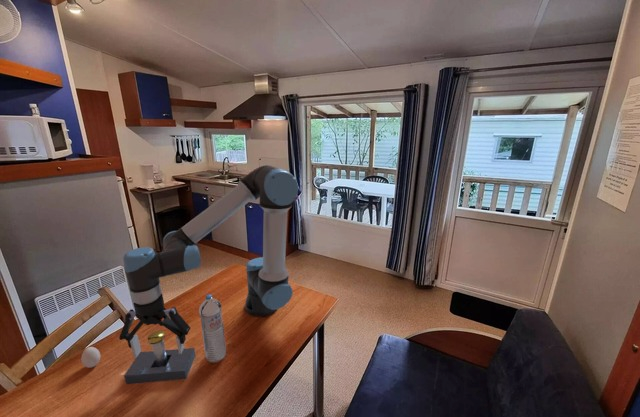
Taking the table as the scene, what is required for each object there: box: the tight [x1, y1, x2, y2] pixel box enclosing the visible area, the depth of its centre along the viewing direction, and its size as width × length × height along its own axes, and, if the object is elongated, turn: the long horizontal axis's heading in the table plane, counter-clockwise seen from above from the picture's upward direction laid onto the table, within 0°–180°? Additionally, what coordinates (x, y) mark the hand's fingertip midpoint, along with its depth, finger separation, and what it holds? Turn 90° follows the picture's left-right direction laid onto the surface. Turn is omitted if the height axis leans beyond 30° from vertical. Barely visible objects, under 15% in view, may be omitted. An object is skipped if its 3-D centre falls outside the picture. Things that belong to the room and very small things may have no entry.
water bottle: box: [198, 294, 227, 364], centre depth 89 cm, size 7×7×25 cm
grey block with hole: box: [123, 347, 197, 385], centre depth 86 cm, size 18×9×4 cm, turn 97°
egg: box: [80, 346, 101, 369], centre depth 87 cm, size 5×5×7 cm
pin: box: [147, 329, 168, 367], centre depth 85 cm, size 5×5×14 cm
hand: (159, 352), depth 85 cm, fingers open, 13 cm apart
